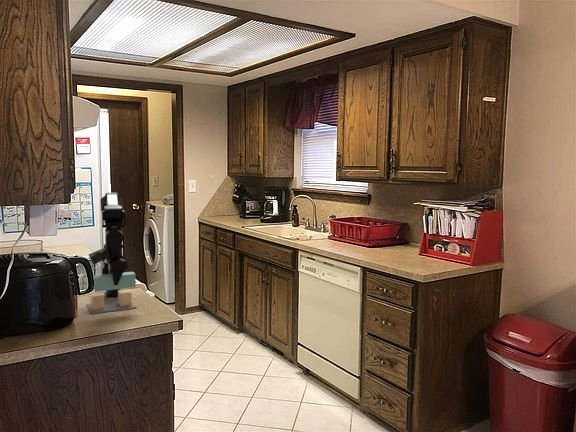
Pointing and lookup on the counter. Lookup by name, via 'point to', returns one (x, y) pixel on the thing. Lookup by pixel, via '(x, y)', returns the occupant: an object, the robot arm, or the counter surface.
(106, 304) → the bridge base
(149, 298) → the counter surface
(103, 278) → the teal beam
